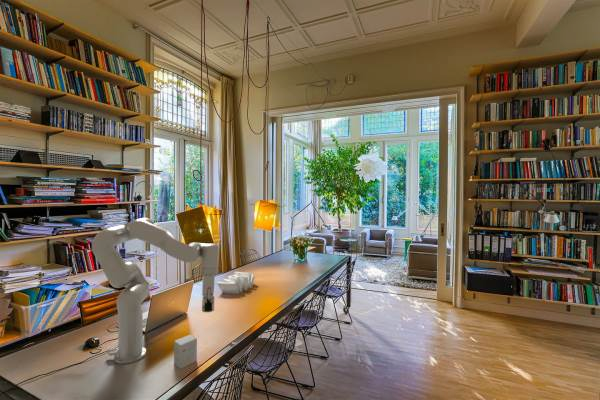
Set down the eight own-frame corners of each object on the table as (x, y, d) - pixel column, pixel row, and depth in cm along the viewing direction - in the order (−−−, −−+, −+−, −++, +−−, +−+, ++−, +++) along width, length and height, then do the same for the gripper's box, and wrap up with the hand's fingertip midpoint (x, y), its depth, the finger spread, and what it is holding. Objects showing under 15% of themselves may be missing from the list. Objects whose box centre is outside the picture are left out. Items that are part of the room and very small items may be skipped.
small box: (190, 356, 132) (190, 333, 132) (197, 361, 129) (197, 338, 128) (173, 364, 126) (173, 340, 126) (179, 369, 123) (180, 345, 122)
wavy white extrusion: (232, 297, 206) (232, 283, 205) (214, 293, 213) (214, 279, 212) (259, 284, 237) (259, 271, 237) (242, 281, 244) (242, 268, 244)
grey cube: (202, 312, 132) (202, 300, 132) (201, 308, 138) (202, 295, 137) (214, 311, 134) (214, 299, 134) (213, 307, 139) (214, 294, 139)
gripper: (200, 265, 142) (199, 302, 143) (201, 275, 126) (199, 316, 127) (216, 265, 145) (215, 300, 145) (218, 274, 129) (217, 314, 129)
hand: (207, 307), depth 136 cm, fingers closed on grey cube, 5 cm apart
